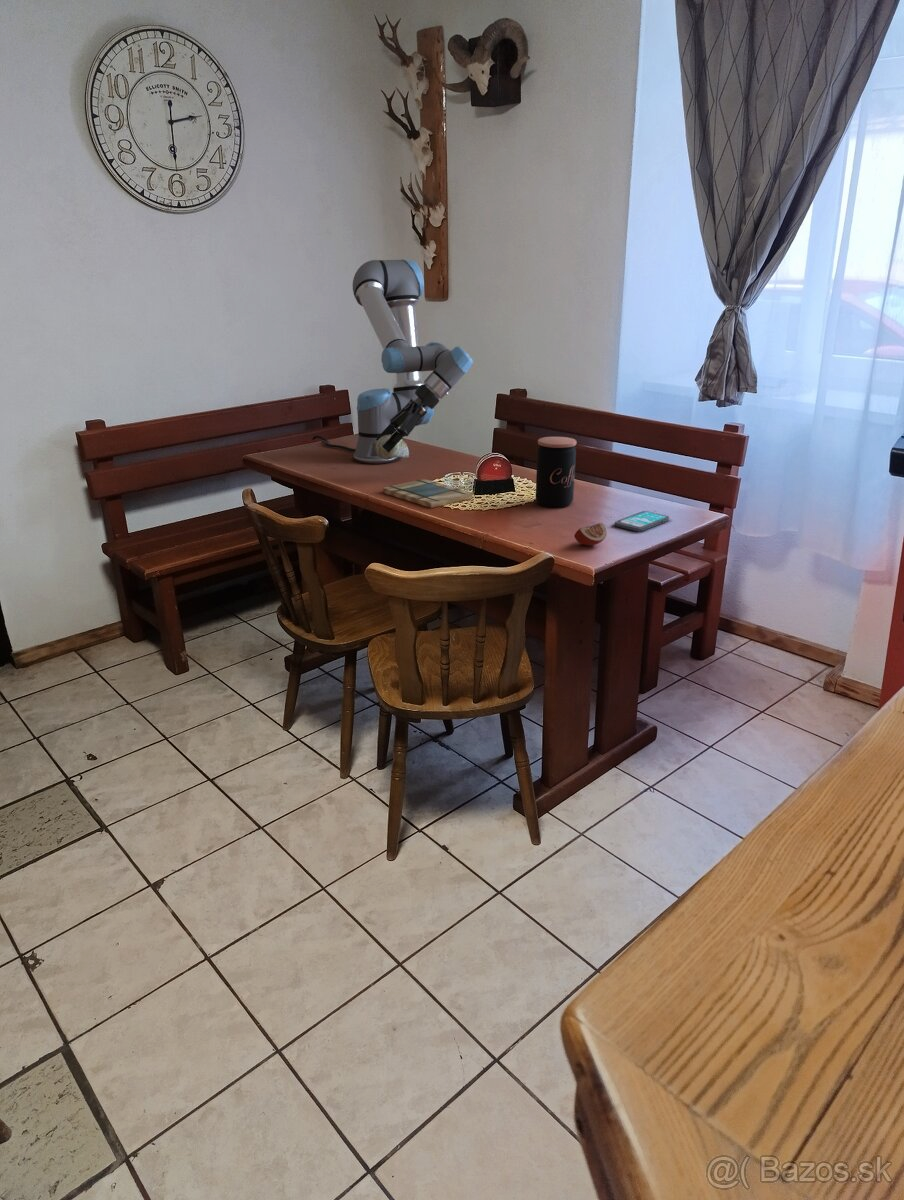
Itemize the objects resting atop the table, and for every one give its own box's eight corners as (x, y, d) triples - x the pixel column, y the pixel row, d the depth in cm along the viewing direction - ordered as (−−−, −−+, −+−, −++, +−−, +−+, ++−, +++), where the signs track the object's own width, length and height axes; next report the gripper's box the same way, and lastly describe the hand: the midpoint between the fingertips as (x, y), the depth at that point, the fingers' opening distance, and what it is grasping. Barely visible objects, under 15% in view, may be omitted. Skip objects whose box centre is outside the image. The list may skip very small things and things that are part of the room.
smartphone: (612, 521, 212) (644, 509, 221) (612, 525, 212) (643, 513, 222) (640, 528, 206) (671, 516, 216) (640, 532, 206) (671, 519, 216)
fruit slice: (591, 538, 203) (592, 518, 201) (612, 544, 198) (613, 525, 196) (568, 545, 198) (569, 525, 196) (589, 552, 193) (590, 532, 191)
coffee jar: (548, 510, 225) (551, 445, 218) (528, 501, 234) (530, 438, 227) (580, 505, 229) (584, 442, 222) (559, 496, 238) (562, 435, 231)
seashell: (411, 450, 258) (410, 425, 250) (407, 471, 252) (406, 446, 244) (379, 448, 258) (377, 423, 251) (374, 469, 252) (372, 444, 245)
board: (383, 492, 242) (382, 487, 241) (423, 483, 252) (423, 478, 251) (431, 508, 227) (431, 502, 226) (472, 497, 237) (472, 492, 236)
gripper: (449, 406, 240) (398, 462, 242) (431, 394, 259) (384, 446, 262) (431, 388, 236) (380, 445, 239) (414, 377, 256) (367, 430, 258)
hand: (382, 446), depth 250 cm, fingers closed on seashell, 10 cm apart
